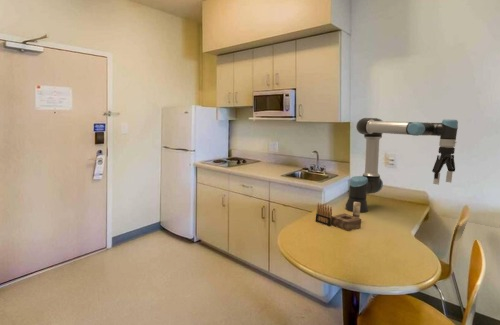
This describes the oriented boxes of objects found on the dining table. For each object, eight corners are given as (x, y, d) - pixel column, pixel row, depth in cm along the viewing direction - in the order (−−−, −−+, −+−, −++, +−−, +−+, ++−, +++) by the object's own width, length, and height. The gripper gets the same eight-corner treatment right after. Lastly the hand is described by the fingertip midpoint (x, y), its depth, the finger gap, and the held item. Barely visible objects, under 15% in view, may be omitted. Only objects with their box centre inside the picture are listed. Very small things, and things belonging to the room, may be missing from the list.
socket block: (330, 224, 171) (331, 216, 170) (344, 221, 177) (344, 213, 177) (347, 230, 161) (347, 222, 160) (360, 227, 167) (361, 218, 167)
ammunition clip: (315, 221, 176) (316, 202, 174) (317, 220, 177) (318, 202, 175) (330, 226, 168) (331, 206, 166) (332, 225, 169) (333, 206, 167)
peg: (350, 220, 178) (352, 202, 176) (355, 219, 180) (356, 201, 178) (356, 222, 174) (357, 204, 173) (360, 221, 177) (362, 203, 175)
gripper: (442, 147, 153) (437, 186, 156) (465, 146, 165) (460, 182, 168) (427, 146, 159) (423, 183, 162) (451, 145, 172) (446, 180, 175)
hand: (442, 183), depth 165 cm, fingers open, 13 cm apart
